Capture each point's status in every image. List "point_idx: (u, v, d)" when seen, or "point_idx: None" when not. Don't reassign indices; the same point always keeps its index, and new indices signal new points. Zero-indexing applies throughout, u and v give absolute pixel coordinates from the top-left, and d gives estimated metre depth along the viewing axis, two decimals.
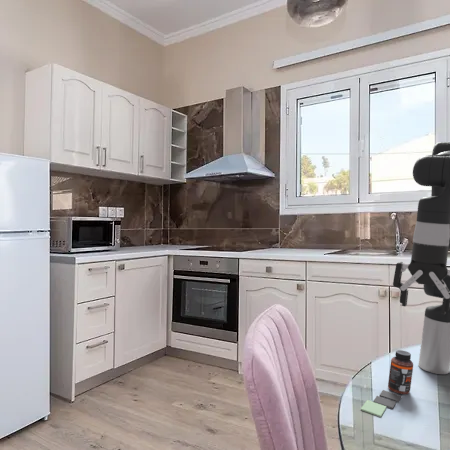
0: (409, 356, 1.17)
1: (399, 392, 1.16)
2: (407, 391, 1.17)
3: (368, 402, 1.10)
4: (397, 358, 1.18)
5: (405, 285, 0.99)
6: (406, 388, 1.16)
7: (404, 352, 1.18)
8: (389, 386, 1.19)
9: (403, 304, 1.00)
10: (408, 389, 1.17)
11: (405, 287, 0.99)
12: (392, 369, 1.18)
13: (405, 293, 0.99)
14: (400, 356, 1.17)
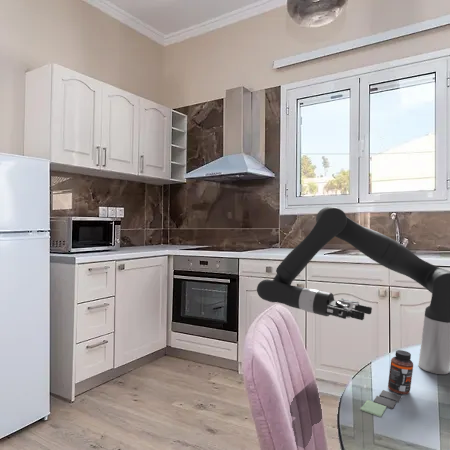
0: (409, 356, 1.17)
1: (399, 392, 1.16)
2: (407, 391, 1.17)
3: (368, 402, 1.10)
4: (397, 358, 1.18)
5: None
6: (406, 388, 1.16)
7: (404, 352, 1.18)
8: (389, 386, 1.19)
9: None
10: (408, 389, 1.17)
11: None
12: (392, 369, 1.18)
13: (360, 311, 1.29)
14: (400, 356, 1.17)
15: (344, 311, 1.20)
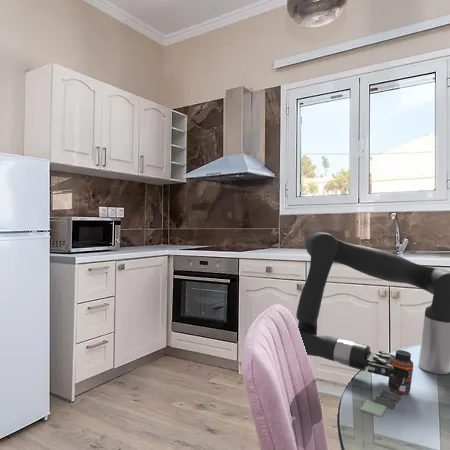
0: (409, 356, 1.17)
1: (399, 392, 1.16)
2: (407, 391, 1.17)
3: (368, 402, 1.10)
4: (397, 358, 1.18)
5: None
6: (406, 388, 1.16)
7: (404, 352, 1.18)
8: (389, 386, 1.19)
9: None
10: (408, 389, 1.17)
11: None
12: None
13: None
14: (400, 356, 1.17)
15: (388, 369, 1.15)
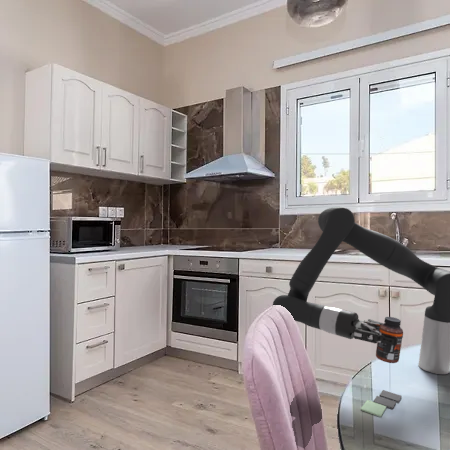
0: (399, 322, 1.09)
1: (387, 360, 1.09)
2: (396, 359, 1.09)
3: (368, 402, 1.10)
4: (385, 325, 1.10)
5: None
6: (394, 356, 1.09)
7: (393, 319, 1.11)
8: (377, 354, 1.12)
9: None
10: (397, 357, 1.09)
11: None
12: None
13: None
14: (389, 322, 1.10)
15: (376, 336, 1.08)
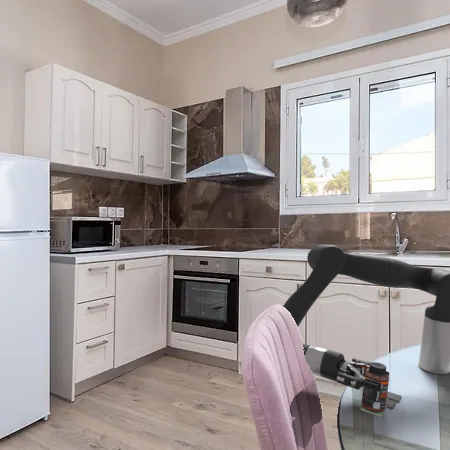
0: (384, 369, 1.05)
1: (373, 409, 1.04)
2: (382, 408, 1.04)
3: None
4: (371, 371, 1.06)
5: None
6: (380, 405, 1.04)
7: (379, 365, 1.06)
8: (362, 402, 1.07)
9: None
10: (383, 406, 1.05)
11: None
12: None
13: None
14: (374, 369, 1.05)
15: (358, 381, 1.02)
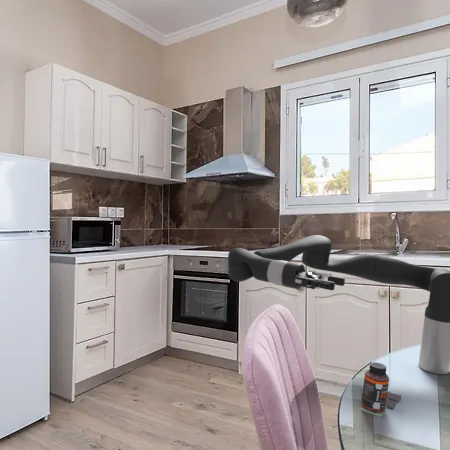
0: (384, 369, 1.05)
1: (373, 410, 1.04)
2: (382, 408, 1.04)
3: None
4: (371, 372, 1.06)
5: None
6: (380, 405, 1.04)
7: (379, 365, 1.06)
8: (362, 402, 1.07)
9: None
10: (383, 406, 1.04)
11: None
12: (366, 384, 1.06)
13: None
14: (374, 369, 1.05)
15: (313, 281, 1.11)
